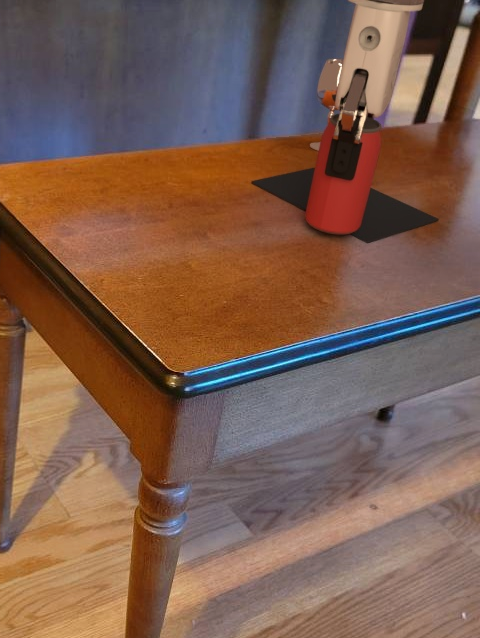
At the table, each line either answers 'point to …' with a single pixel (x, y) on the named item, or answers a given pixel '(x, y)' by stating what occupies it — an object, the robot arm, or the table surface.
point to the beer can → (343, 184)
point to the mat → (379, 214)
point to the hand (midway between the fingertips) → (345, 165)
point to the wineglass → (328, 89)
